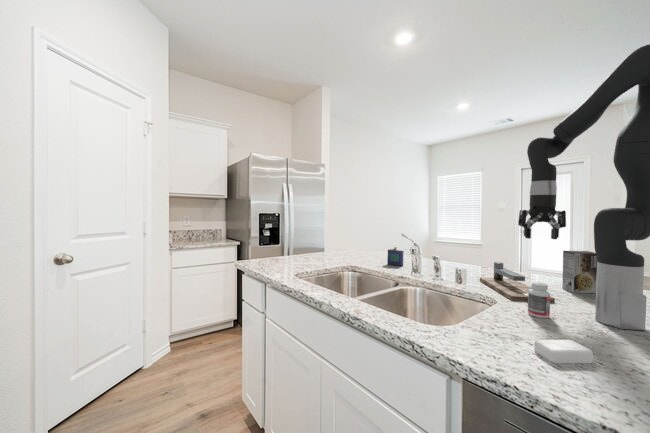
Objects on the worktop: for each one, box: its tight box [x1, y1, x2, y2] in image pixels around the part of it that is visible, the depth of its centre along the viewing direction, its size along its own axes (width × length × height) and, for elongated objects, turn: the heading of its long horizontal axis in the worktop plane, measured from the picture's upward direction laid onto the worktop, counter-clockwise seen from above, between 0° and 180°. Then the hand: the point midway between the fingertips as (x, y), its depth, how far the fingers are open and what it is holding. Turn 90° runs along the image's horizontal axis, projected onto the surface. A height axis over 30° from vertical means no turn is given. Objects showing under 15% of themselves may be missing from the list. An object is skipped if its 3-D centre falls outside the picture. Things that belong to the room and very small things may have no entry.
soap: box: [533, 339, 594, 364], centre depth 61 cm, size 9×6×3 cm, turn 92°
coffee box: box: [561, 250, 598, 294], centre depth 112 cm, size 9×6×16 cm
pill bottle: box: [527, 281, 551, 319], centre depth 85 cm, size 5×5×10 cm
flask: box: [386, 246, 404, 267], centre depth 161 cm, size 9×3×11 cm, turn 61°
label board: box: [479, 277, 556, 304], centre depth 112 cm, size 28×14×2 cm, turn 172°
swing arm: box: [493, 261, 526, 282], centre depth 116 cm, size 19×4×7 cm, turn 172°
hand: (540, 238), depth 100 cm, fingers open, 8 cm apart
